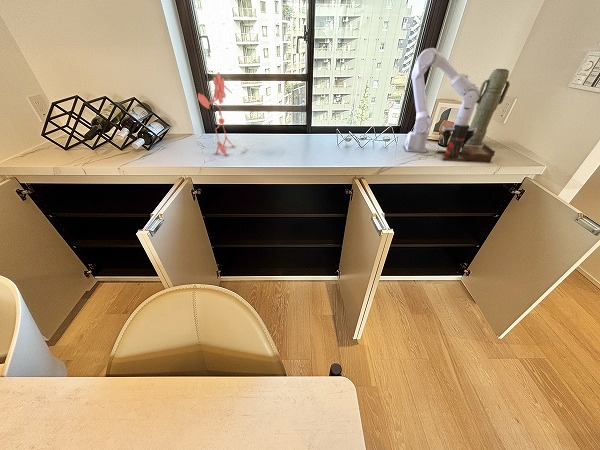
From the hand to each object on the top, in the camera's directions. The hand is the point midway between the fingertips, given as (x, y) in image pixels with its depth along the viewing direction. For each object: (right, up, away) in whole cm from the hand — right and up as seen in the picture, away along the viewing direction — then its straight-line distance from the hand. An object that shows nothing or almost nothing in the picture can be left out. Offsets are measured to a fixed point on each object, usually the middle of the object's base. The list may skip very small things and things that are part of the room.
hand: (452, 146), depth 125 cm
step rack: (+5, -5, +1) cm, 7 cm away
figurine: (-110, 0, +7) cm, 110 cm away
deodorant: (0, -5, +2) cm, 5 cm away
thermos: (+21, +7, +18) cm, 29 cm away
